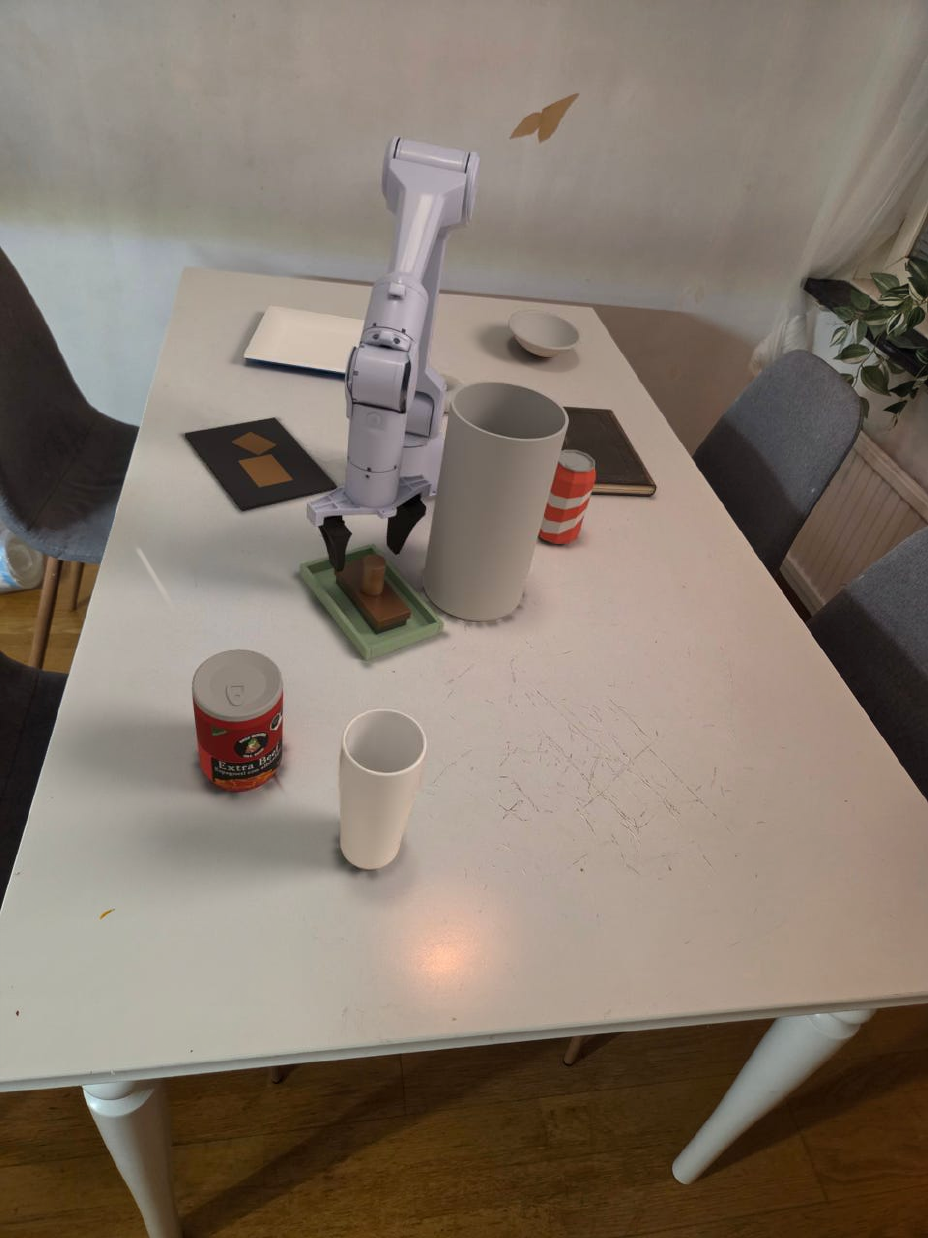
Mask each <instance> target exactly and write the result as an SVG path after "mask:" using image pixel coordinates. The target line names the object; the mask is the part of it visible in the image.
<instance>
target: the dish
mask: <svg viewBox="0 0 928 1238" xmlns="http://www.w3.org/2000/svg"><path fill="white" fill-rule="evenodd" d="M507 321H508V323H507V324H508V328H509V330H510V331H511V333H512V334H513V336H514V338H515V339H516V341H517V343H518V344H519V345H520V346H521V347H522V348H523V349H524V350H526V351H527V352H529V353H531V354H533V355H536V356H539V357H545V358H554V357H558V356H561V355H564V354H566V353H568V352H569V351H571V350H572V349H574V348H577V347H578V346H579V345H580V344H581V342H582V340H583V334H582V332H581V330H580V329H579V327H577V325H576V324H575V323H573V322H572V321H570V320H568V319H567V318H565V317H563V316H561V315H558V314H556V313H553V312H549V311H543V310H536V309H535V310H534V309H528V310H521V311H517V312H514V313H512V314H511V315H510V316H509V318H508V320H507Z"/></svg>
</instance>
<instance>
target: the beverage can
mask: <svg viewBox="0 0 928 1238" xmlns="http://www.w3.org/2000/svg"><path fill="white" fill-rule="evenodd" d="M595 479H596V471H595V461H594V460H593V459H592V458H591V457H590V456H589V455H588V454H586V453H583V452H580V451H577V450H563V451H561V453H560V457H559V460H558V464H557V468H556V471H555V475H554V479H553V483H552V486H551V490H550V494H549V497H548V501H547V505H546V508H545V512H544V516H543V520H542V523H541V527H540V531H539V534H538V536H539V537H540V538H541V539H543V540H544V541H547V542H549V543H550V544H554V545H557V544H558V545H565V544H571V543H572V542H574V541H575V540H577V539H578V536H579V534H580V531H581V528H582V524H583V521H584V517H585V515H586V511H587V509H588V506H589V501H590V498H591V495H592V494H591V492H592V489H593V486H594V483H595Z"/></svg>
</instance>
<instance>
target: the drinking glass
mask: <svg viewBox="0 0 928 1238" xmlns="http://www.w3.org/2000/svg"><path fill="white" fill-rule="evenodd" d="M427 741H428V740H427V736H426V733H425V731H424V729H423V727H422V726H421V725H420V723H419V722H418V721H416V720H415V719H414V718H413V717H411V716H410V715H408V714H407V713H404V712H403V711H399V710H396V709H391V708H373V709H369V710H365V711H363V712H361V713H359V714H357V715H355V716H354V717H352V718H351V719H350V720H349V721H348V723H347V724H346V725H345V727H344V729H343V731H342V735H341V739H340V744H339V753H338V761H337V784H338V785H337V787H338V800H339V801H338V802H339V818H340V819H339V821H340V835H339V844H340V850H341V853H342V854H343V856H344V858H345V859H346V860H347V861H348V862H349V863H350V864H352V865H353V866H355V867H357V868H359V869H363V870H378V869H381V868H384V867H385V866H387V865H389V864H390V863H391V862H392V861H393V860H394V859H395V858H396V856H397V855H398V853H399V852H400V851H399V850H400V847H401V844H402V843H401V842H402V839H403V834H404V832H405V829H406V826H407V824H408V821H409V818H410V814H411V811H412V809H413V806H414V803H415V800H416V797H417V795H418V792H419V788H420V787H421V786H420V785H421V782H422V780H423V779H422V778H423V775H424V769H425V764H426V757H427V749H428V742H427Z"/></svg>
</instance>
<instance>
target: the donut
mask: <svg viewBox="0 0 928 1238" xmlns="http://www.w3.org/2000/svg"><path fill="white" fill-rule="evenodd" d="M438 373H439V372H438ZM439 374H440V375H441V376H442V377H443V378H444V379H445V381H446V382H445V383H446V385H447V387H446V394H445V397H446V401H445V409H444V413H449V409H450V403H451V397H452V395H453V393H454V392H455V391H456V390H457V389H459V388H460V387H462V386H464V384H463V383H462V382H461V381H460V380H459V379H457V378H455V377H453V376H451V375H448V374H446V373H445V374H444V373H439Z"/></svg>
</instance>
